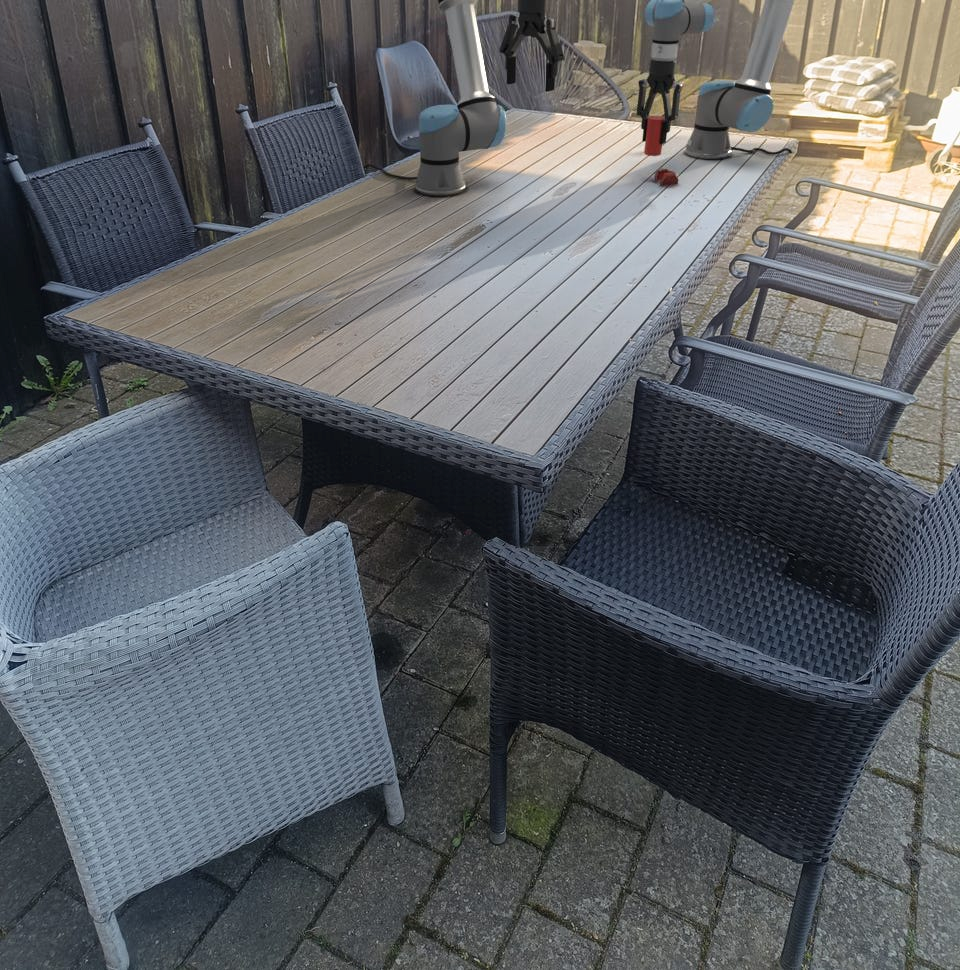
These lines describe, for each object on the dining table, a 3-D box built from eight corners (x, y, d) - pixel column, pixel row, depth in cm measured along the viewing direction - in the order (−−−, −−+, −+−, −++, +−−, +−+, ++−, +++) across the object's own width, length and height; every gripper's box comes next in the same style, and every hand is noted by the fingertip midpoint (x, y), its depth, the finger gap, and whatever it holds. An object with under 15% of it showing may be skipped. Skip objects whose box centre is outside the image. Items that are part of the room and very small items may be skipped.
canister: (661, 152, 264) (666, 116, 258) (659, 156, 260) (664, 120, 254) (645, 151, 265) (649, 115, 259) (643, 155, 261) (646, 119, 255)
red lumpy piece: (669, 164, 265) (680, 172, 259) (668, 178, 267) (679, 185, 261) (653, 166, 264) (664, 174, 258) (652, 180, 266) (662, 188, 260)
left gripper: (581, -3, 205) (576, 91, 217) (506, -11, 219) (505, 78, 232) (562, -1, 201) (557, 96, 213) (486, -8, 215) (486, 82, 227)
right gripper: (629, 57, 249) (621, 140, 262) (687, 63, 240) (676, 148, 254) (640, 54, 254) (632, 135, 267) (697, 59, 245) (686, 143, 259)
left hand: (530, 87), depth 222 cm, fingers open, 13 cm apart
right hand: (653, 141), depth 260 cm, fingers closed on canister, 5 cm apart
